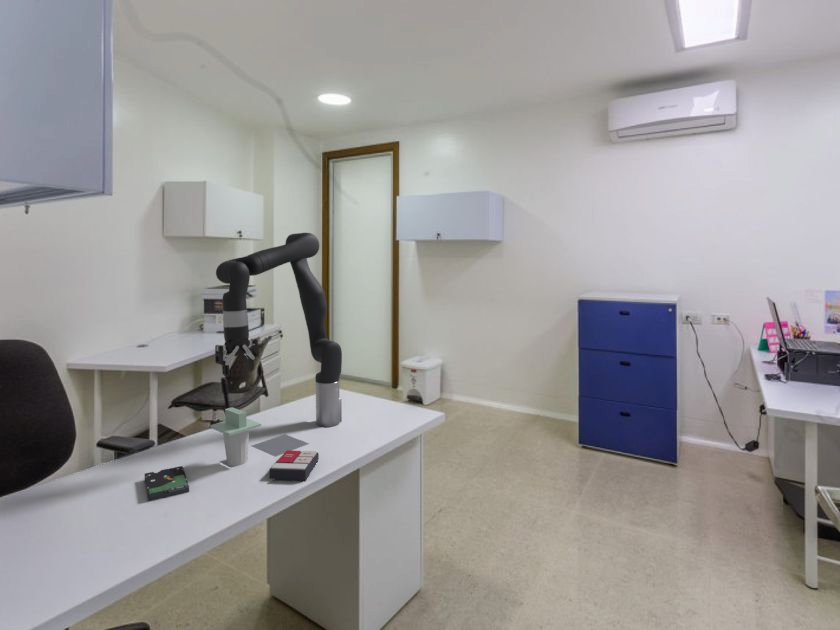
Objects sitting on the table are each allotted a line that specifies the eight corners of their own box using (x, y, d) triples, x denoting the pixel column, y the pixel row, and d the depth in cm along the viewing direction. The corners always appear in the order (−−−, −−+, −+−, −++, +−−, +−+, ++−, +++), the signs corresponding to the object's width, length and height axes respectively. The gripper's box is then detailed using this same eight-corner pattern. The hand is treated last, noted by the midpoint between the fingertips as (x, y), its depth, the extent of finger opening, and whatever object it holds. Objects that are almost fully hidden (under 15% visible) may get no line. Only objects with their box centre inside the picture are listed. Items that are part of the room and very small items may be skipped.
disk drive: (144, 482, 142) (148, 503, 130) (143, 473, 142) (147, 493, 130) (182, 474, 148) (190, 493, 136) (182, 465, 148) (189, 483, 135)
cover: (242, 418, 161) (241, 403, 160) (261, 426, 154) (260, 410, 153) (210, 427, 152) (209, 411, 151) (229, 436, 145) (228, 419, 145)
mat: (284, 435, 178) (284, 434, 178) (309, 445, 169) (309, 443, 169) (251, 447, 167) (251, 445, 167) (275, 457, 159) (275, 456, 159)
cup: (218, 465, 153) (216, 428, 151) (238, 456, 160) (237, 421, 158) (236, 470, 149) (234, 433, 148) (256, 460, 156) (254, 425, 155)
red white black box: (318, 450, 157) (305, 467, 142) (318, 462, 157) (305, 482, 142) (285, 449, 158) (268, 466, 143) (285, 461, 158) (269, 480, 143)
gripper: (248, 320, 163) (251, 367, 165) (208, 326, 151) (212, 376, 154) (262, 322, 158) (264, 370, 160) (221, 328, 147) (225, 380, 149)
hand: (238, 373), depth 157 cm, fingers open, 8 cm apart
